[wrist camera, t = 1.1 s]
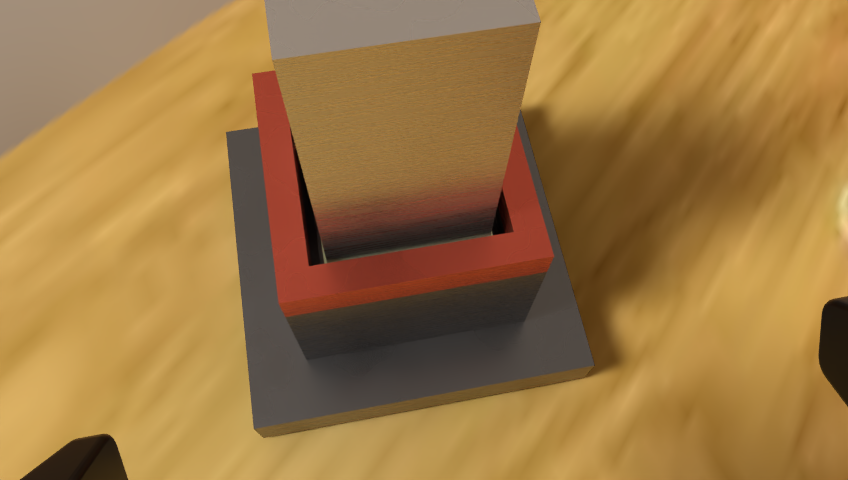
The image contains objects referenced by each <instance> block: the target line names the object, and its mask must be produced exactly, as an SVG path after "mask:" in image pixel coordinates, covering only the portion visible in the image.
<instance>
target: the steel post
mask: <svg viewBox="0 0 848 480" xmlns="http://www.w3.org/2000/svg"><path fill="white" fill-rule="evenodd" d="M265 8H266V16H267V23H268V31H269V39H270V46H271V54H272V61H273V64H274V68H275V72H276V76H277V79H278V83H279V87H280V90H281V94H282V98H283V101H284V105H285V109H286V112H287V116H288V120H289V123H290V127H291V131H292V135H293V138H294V142H295V146H296V149H297V153H298V157H299V160H300V164H301V168H302V171H303V175H304V179H305V182H306V186H307V190H308V193H309V197H310V201H311V205H312V208H313V212H314V216H315V219H316V223H317V227H318V230H319V234H320V238H321V244H322V251H323V258H324V264H326V263H332V262H337V261H343V260H349V259H355V258H361V257H367V256H373V255H379V254H385V253H391V252H397V251H403V250H409V249H415V248H421V247H427V246H433V245H439V244H445V243H451V242H457V241H463V240H469V239H475V238H481V237H487V236H493V234H492V227H493V223H494V219H495V214H496V210H497V206H498V202H499V197H500V193H501V189H502V185H503V180H504V176H505V172H506V168H507V163H508V159H509V155H510V151H511V146H512V142H513V138H514V134H515V129H516V125H517V121H518V117H519V112H520V108H521V104H522V100H523V96H524V91H525V87H526V83H527V79H528V74H529V70H530V66H531V62H532V57H533V53H534V49H535V45H536V40H537V36H538V32H539V28H540V23H541V21H540V18H539V15H538V12H537V9H536V5H535V2H534V0H265Z"/></svg>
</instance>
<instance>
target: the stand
mask: <svg viewBox="0 0 848 480" xmlns="http://www.w3.org/2000/svg"><path fill="white" fill-rule="evenodd" d="M252 76H253V85H254V94H255V103H256V111H257V120H258V127H257V128H251V129H244V130H237V131H231V132H226V136H227V147H228V157H229V168H230V179H231V189H232V200H233V211H234V221H235V232H236V243H237V253H238V264H239V275H240V286H241V296H242V307H243V318H244V328H245V339H246V350H247V360H248V371H249V382H250V392H251V403H252V414H253V424H254V430H255V431H257V432H258V433H259V434H260V435H261V436H262V437H263V438H266V437H271V436H277V435H282V434H287V433H293V432H298V431H303V430H309V429H314V428H319V427H324V426H330V425H335V424H340V423H346V422H351V421H356V420H362V419H367V418H372V417H378V416H383V415H388V414H394V413H399V412H404V411H410V410H415V409H420V408H426V407H431V406H436V405H442V404H447V403H452V402H458V401H463V400H468V399H474V398H479V397H484V396H490V395H495V394H500V393H506V392H511V391H516V390H522V389H527V388H532V387H537V386H543V385H548V384H553V383H559V382H564V381H569V380H575V379H580V378H584V377H585V376H586V375H587V374H588V373H589V371H590V370H591V369H592V368H593V367H594V366H595V365H594V361H593V358H592V354H591V351H590V348H589V344H588V341H587V337H586V334H585V330H584V327H583V323H582V320H581V317H580V313H579V310H578V306H577V303H576V299H575V296H574V292H573V289H572V285H571V282H570V279H569V275H568V272H567V268H566V265H565V261H564V258H563V254H562V251H561V248H560V244H559V241H558V237H557V234H556V230H555V227H554V223H553V220H552V217H551V213H550V210H549V206H548V203H547V199H546V196H545V192H544V189H543V186H542V182H541V179H540V175H539V172H538V168H537V165H536V161H535V158H534V155H533V151H532V148H531V144H530V141H529V137H528V134H527V130H526V127H525V124H524V120H523V117H522V113H521V110H520V112H519V117H518V121H517V125H516V129H515V134H514V138H513V142H512V146H511V151H510V155H509V159H508V163H507V168H506V172H505V176H504V180H503V185H502V189H501V193H500V197H499V202H498V206H497V210H496V214H495V219H494V223H493V227H492V234H493V236H487V237H481V238H475V239H469V240H463V241H457V242H451V243H445V244H439V245H433V246H427V247H421V248H415V249H409V250H403V251H397V252H391V253H385V254H379V255H373V256H367V257H361V258H355V259H349V260H343V261H337V262H332V263H326V264H324V258H323V251H322V244H321V238H320V234H319V230H318V227H317V223H316V219H315V216H314V212H313V208H312V205H311V201H310V197H309V193H308V190H307V186H306V182H305V179H304V175H303V171H302V168H301V164H300V160H299V157H298V153H297V149H296V146H295V142H294V138H293V135H292V131H291V127H290V123H289V120H288V116H287V112H286V109H285V105H284V101H283V98H282V94H281V90H280V87H279V83H278V79H277V76H276V72H275V71H269V72H262V73H255V74H252Z"/></svg>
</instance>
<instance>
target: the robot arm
mask: <svg viewBox="0 0 848 480" xmlns="http://www.w3.org/2000/svg"><path fill="white" fill-rule="evenodd" d="M819 364H820V367H821V370H822V372H823V374H824V375H825V377H826V378H827V380H828V381H829V382H830V384H831V385H832V386H833V388H834V389H835V390H836V392H837V393H838V394H839V396H840V397H841V398H842V400H843V401H844V402H845V404H846V405H847V406H848V296H847V297H841V298H836V299H832V300H829V301H828V302H827V303H826V304H825V306H824V308H823V311H822V319H821V331H820V343H819ZM20 480H128V478H127V475H126V472H125V469H124V466H123V462H122V459H121V456H120V453H119V450H118V447H117V445H116V442H115V441H114V439H113V438H112V437H111V436H110V435H108V434H99V435H94V436H88V437H83V438H78V439H75V440H72V441H71V442H69V443H68V444H67V445H65V446H64V447H63V448H61V449H60V450H59V451H57V452H56V453H55V454H53V455H52V456H51V457H49V458H48V459H47V460H45V461H44V462H43V463H41V464H40V465H39V466H37V467H36V468H35V469H33V470H32V471H31V472H30V473H28V474H27V475H26V476H24V477H23V478H22V479H20Z"/></svg>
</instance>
